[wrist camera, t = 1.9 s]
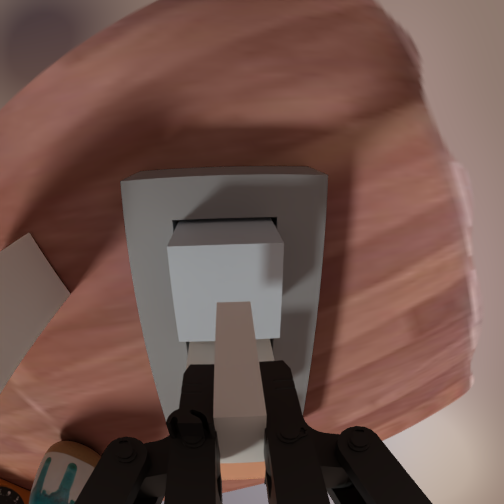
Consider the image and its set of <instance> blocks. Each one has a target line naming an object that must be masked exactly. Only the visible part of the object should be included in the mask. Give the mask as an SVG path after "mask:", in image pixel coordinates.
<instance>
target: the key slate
mask: <svg viewBox="0 0 504 504" xmlns="http://www.w3.org/2000/svg"><path fill="white" fill-rule="evenodd" d="M167 253H168V262H169V271H170V280H171V288H172V296H173V303H174V311H175V318H176V325H177V332H178V338H179V342H198V341H215V334H216V309H217V302H247V301H250V302H251V310H252V317H253V324H254V331H255V338H256V339H271V338H280V324H281V304H282V282H283V257H284V242H283V240H282V238H281V236H280V234H279V232H278V231H277V229H276V227H275V225H274V223H273V221H272V219H271V218H270V217H250V218H216V219H189V220H179V222H178V224H177V226H176V228H175V230H174V233H173V235H172V237H171V239H170V241H169V243H168V245H167Z"/></svg>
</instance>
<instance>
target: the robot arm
mask: <svg viewBox="0 0 504 504" xmlns="http://www.w3.org/2000/svg"><path fill="white" fill-rule="evenodd" d="M166 425H167V428H168V431H169V434H170V435H169V436H168V437H166V438H164V439H162V440H159V441H155V442H150V443H145V444H143V443H142V442H141V441H139V440H137V439H135V438H132V437H122V438H118V439H116V440H114V441H112V442H111V443H110V444H109V445H108V446H107V448H106V450H105V451H104V453H103V455H102V456H101V458H100V460H99V461H98V463H97V465H96V467H95V468H94V470H93V472H92V473H91V475H90V477H89V479H88V480H87V482H86V484H85V486H84V487H83V489H82V491H81V493H80V494H79V496H78V498H77V500H76V501H75V503H74V504H161V503H162V500H163V498H164V496H165V500H164V504H222V477H221V471H220V463H249V462H264V460H265V468H266V470H265V484H266V486H267V494H268V502H269V504H330V502H329V498H328V494H327V492H328V493H329V495H330V497H331V498H332V500H333V502H334V503H335V504H432V503H431V501H430V500H429V499H428V498H427V497H426V495H425V494H424V493H423V492H422V490H421V489H420V488H419V487H418V485H417V484H416V483H415V482H414V480H413V479H412V478H411V477H410V476H409V474H408V473H407V472H406V470H405V469H404V468H403V467H402V466H401V464H400V463H399V462H398V461H397V459H396V458H395V457H394V456H393V454H392V453H391V452H390V450H389V449H388V448H387V447H386V445H385V444H384V443H383V442H382V440H381V439H380V438H379V437H378V435H377V434H376V433H374V432H373V431H372V430H371V429H368V428H366V427H360V426H355V427H350V428H347V429H346V430H344V431H343V432H342V433H341V434H340V435H339V434H329V433H323V432H319V431H316V430H314V429H312V428H311V427H310V426H308V425H307V423H306V422H305V420H304V418H303V415H302V411H301V407H300V403H299V399H298V395H297V391H296V389H295V384H294V381H293V376H292V372H291V368H290V367H289V366H288V365H287V364H286V363H285V362H284V361H283V360H278V361H263V362H259V359H258V352H257V345H256V338H255V331H254V324H253V317H252V310H251V302H250V301H247V302H217V309H216V334H215V363H214V364H190V365H189V367H188V368H187V369H186V371H185V372H184V374H183V381H182V388H181V396H180V403H179V409H177V410H175V411H173V412H172V413H171V414H170V415H169V416H168V418H167V421H166Z"/></svg>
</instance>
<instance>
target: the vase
mask: <svg viewBox="0 0 504 504" xmlns="http://www.w3.org/2000/svg"><path fill="white" fill-rule="evenodd" d="M100 458H101V456H100V455H99V454H98V453H96V452H95V451H94V450H92V449H90V448H89V447H87V446H85V445H82V444H80V443H77V442H73V441H60V442H57V443H55V444H53V445H52V446H51V447H50V448H49V449H48V451H47V452H46V454H45V456H44V458H43V460H42V462H41V464H40V466H39V468H38V471H37V474H36V477H35V480H34V483H33V486H32V490H31V494H30V499H29V504H74V503H75V501H76V500H77V498H78V496H79V494H80V493H81V491H82V489H83V487H84V486H85V484H86V482H87V480H88V479H89V477H90V475H91V473H92V472H93V470H94V468H95V467H96V465H97V463H98V461H99V460H100Z"/></svg>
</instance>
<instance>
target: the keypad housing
mask: <svg viewBox="0 0 504 504" xmlns="http://www.w3.org/2000/svg"><path fill="white" fill-rule="evenodd" d="M120 183H121V194H122V205H123V214H124V223H125V231H126V239H127V246H128V253H129V260H130V267H131V273H132V279H133V285H134V291H135V296H136V301H137V307H138V312H139V317H140V322H141V326H142V331H143V336H144V340H145V345H146V349H147V353H148V357H149V361H150V366H151V370H152V373H153V377H154V381H155V385H156V389H157V392H158V396H159V399H160V403H161V406H162V410H163V413H164V416H165V420H166V421H167V418H168V416H169V415H170V414H171V413H172V412H173V411H175V410H177V409H179V403H180V396H181V388H182V381H183V374H184V372H185V371H186V366H187V358H188V350H189V342H179V338H178V332H177V325H176V318H175V311H174V303H173V296H172V288H171V280H170V271H169V262H168V253H167V245H168V243H169V241H170V239H171V237H172V235H173V233H174V230H175V228H176V226H177V224H178V222H179V220H189V219H216V218H250V217H270V218H271V219H272V221H273V223H274V225H275V227H276V229H277V231H278V232H279V234H280V236H281V238H282V240H283V242H284V257H283V282H282V304H281V324H280V338H271V339H270V342H271V347H272V351H273V356H274V360H275V361H278V360H283V361H284V362H285V363H286V364H287V365H288V366H289V367H290V368H291V372H292V376H293V381H294V384H295V389H296V391H297V395H298V399H299V403H300V407H301V411H302V415H303V411H304V405H305V399H306V393H307V386H308V380H309V373H310V366H311V359H312V352H313V344H314V337H315V329H316V320H317V312H318V303H319V293H320V283H321V273H322V262H323V250H324V237H325V223H326V207H327V189H328V175H327V174H324V173H322V172H320V171H317V170H315V169H313V168H311V167H308V166H231V167H201V168H181V169H164V170H150V171H140V172H138V173H136V174H134V175H132V176H130V177H128V178H126V179H124V180H122V181H120Z"/></svg>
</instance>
